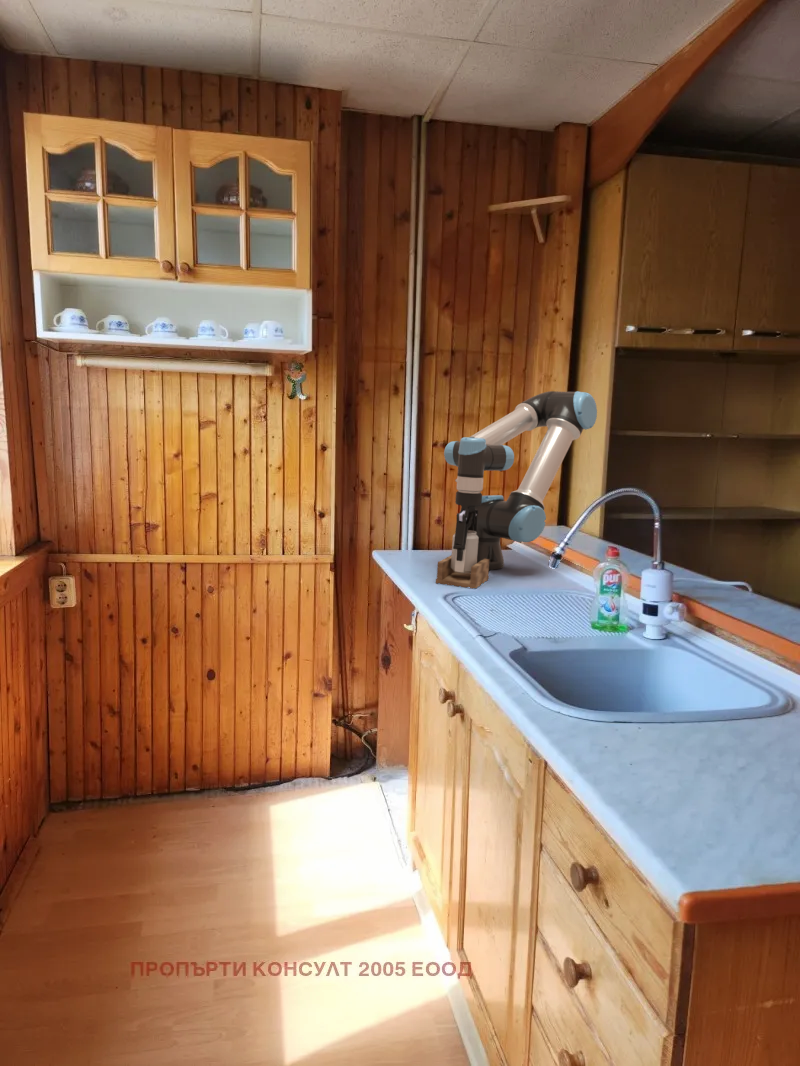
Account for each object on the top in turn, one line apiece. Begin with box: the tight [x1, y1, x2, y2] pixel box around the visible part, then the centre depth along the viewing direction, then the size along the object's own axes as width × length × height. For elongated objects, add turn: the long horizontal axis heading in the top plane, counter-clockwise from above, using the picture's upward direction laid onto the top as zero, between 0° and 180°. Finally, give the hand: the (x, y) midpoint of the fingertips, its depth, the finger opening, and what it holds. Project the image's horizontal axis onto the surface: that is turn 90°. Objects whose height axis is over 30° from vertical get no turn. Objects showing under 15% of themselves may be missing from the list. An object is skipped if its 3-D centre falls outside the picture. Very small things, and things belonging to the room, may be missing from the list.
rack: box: [435, 555, 490, 589], centre depth 212 cm, size 14×12×6 cm
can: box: [450, 530, 479, 573], centre depth 211 cm, size 8×8×12 cm
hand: (463, 568), depth 212 cm, fingers closed on can, 7 cm apart
